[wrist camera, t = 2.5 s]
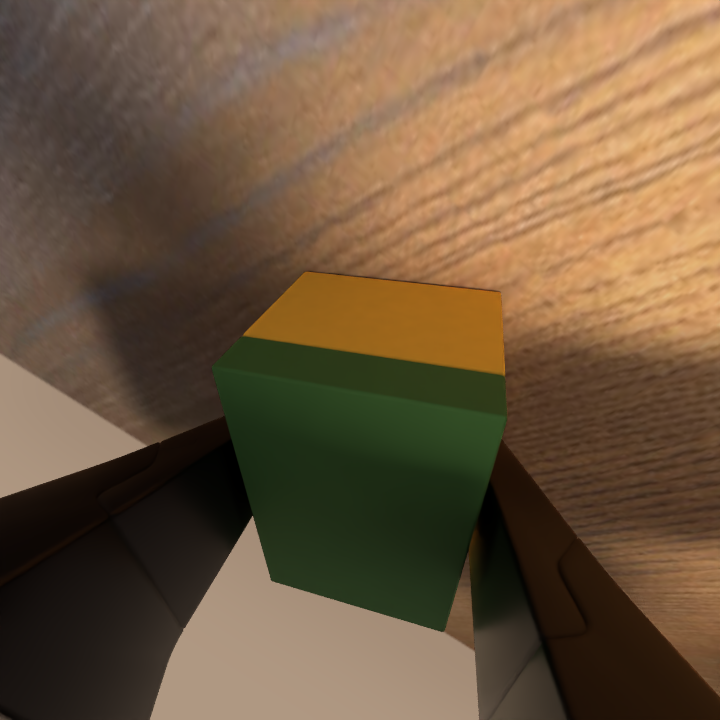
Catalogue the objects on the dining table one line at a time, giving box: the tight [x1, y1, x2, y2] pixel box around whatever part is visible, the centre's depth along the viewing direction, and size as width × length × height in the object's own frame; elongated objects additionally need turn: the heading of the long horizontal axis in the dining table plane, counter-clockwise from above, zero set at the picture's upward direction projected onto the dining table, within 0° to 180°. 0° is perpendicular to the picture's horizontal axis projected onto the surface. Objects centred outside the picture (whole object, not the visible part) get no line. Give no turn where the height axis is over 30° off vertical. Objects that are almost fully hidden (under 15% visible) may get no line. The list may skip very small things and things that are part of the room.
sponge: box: [212, 272, 507, 632], centre depth 9 cm, size 4×7×4 cm, turn 0°
